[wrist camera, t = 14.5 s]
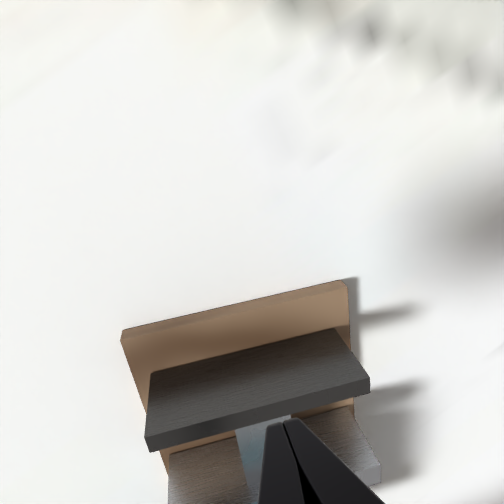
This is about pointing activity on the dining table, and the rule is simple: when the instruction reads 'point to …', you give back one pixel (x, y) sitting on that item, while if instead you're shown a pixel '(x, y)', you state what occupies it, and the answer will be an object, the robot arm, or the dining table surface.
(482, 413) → the dining table surface
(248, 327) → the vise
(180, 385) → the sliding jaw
